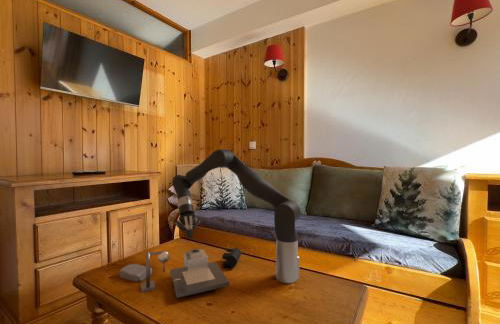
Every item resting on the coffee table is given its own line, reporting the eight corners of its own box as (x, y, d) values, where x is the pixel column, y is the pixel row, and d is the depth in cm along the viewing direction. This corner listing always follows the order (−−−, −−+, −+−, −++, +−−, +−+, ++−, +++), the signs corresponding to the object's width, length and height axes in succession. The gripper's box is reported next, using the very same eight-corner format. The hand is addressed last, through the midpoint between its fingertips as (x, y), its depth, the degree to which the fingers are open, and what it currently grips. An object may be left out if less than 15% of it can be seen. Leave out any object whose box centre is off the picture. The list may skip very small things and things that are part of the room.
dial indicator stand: (168, 280, 103) (168, 247, 103) (170, 286, 98) (170, 251, 98) (141, 286, 98) (141, 251, 98) (141, 292, 94) (141, 256, 94)
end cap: (236, 270, 113) (236, 255, 113) (222, 268, 114) (222, 254, 114) (241, 260, 123) (241, 247, 123) (227, 259, 124) (227, 246, 124)
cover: (203, 264, 110) (203, 246, 110) (208, 273, 103) (208, 252, 102) (184, 268, 107) (184, 248, 106) (187, 277, 99) (187, 256, 99)
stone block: (135, 272, 114) (116, 278, 105) (136, 261, 115) (118, 266, 105) (154, 278, 109) (137, 284, 100) (156, 267, 110) (139, 272, 101)
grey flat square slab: (214, 264, 114) (214, 261, 114) (229, 285, 96) (229, 281, 96) (170, 272, 106) (170, 269, 105) (176, 297, 87) (176, 293, 87)
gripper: (173, 204, 122) (176, 235, 111) (199, 202, 127) (205, 232, 116) (172, 212, 127) (175, 243, 116) (197, 210, 132) (202, 239, 121)
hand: (190, 237), depth 116 cm, fingers closed
